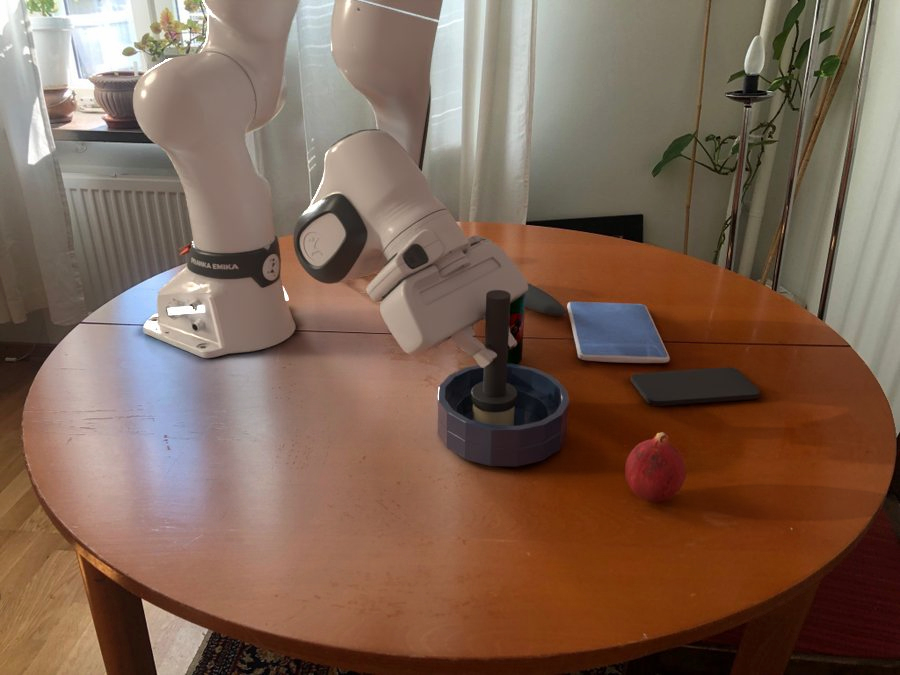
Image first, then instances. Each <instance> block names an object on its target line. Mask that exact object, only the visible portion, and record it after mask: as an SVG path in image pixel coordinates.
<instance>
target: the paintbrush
mask: <svg viewBox="0 0 900 675" xmlns="http://www.w3.org/2000/svg"><path fill="white" fill-rule="evenodd" d="M527 283H528V291H527V292H526V295H525V309H528V310H531V311H533V312H537V313H540V314H543V315H547V316H552V317H564V316H565V315H566V314H567V311H566V308H565V307H564V305H562V304H561V303H560V302H559V301H558V300H557V299H556V298H555V297H553V296H552V295H551V294H549V293H548V292H546V291H545V290H543V289H541V288H539V287H537V286H536V285H534V284H531V283H529V282H527Z"/></svg>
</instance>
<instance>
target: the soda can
mask: <svg viewBox="0 0 900 675" xmlns="http://www.w3.org/2000/svg"><path fill="white" fill-rule="evenodd" d="M525 295H526V293H524V294H523V295H522V296H521V297H519V298H518V299H516V300H515V301H514V302H512V303H510V318H509V328H510V333H511V334H512V336H513V337H514V339H515V340H516V342H517V345H516V346H515V347H514V348H512V349H511V350H509V351H508V358H507V364H517V365H520V363H521V362H522V361H523V350H524V349H523V348H524V331H525V330H524V329H525V315H526V314H525V312H526V311H525V310H526V307H525Z"/></svg>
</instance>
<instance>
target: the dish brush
mask: <svg viewBox="0 0 900 675" xmlns="http://www.w3.org/2000/svg"><path fill="white" fill-rule="evenodd" d="M510 299H511V295H510V293H509V292H507V291H503V290H492V291H489V292H487V294H486V317H485V322H484V345H485V347H486V346H487V345H489V344H490V345H491V347H492V348H493V351H494V352H496V354H497V359H496V360H494V361H493V362H491V363H490V364H488V365H487V366H485V367H484V375H483V382H480V383H478V384H476V385H475V386H474V387H473V388H472V393H471V401H472V403H473V420H474V421H478V422H482V423H486V424H490V425H504V426H513V425H514V410H515V405H516V403H517V391H516V389H515V388H514V387H513V386H512V385H510V384H508V383H506V378H507V358H508V338H509V318H510Z"/></svg>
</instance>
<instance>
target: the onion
mask: <svg viewBox="0 0 900 675" xmlns="http://www.w3.org/2000/svg"><path fill="white" fill-rule="evenodd" d="M668 440H669V436H668V434H666V433H665V432H664V431H662V432H657V433H656V435H655V436H654V437H653V438H650V439H647V440H643V441H641V442H640V443H638V444H637V445H636V446H635V447H634V448H633V449H632V450H631V451H630V452H629V454H628V456H627V457H626V462H625V469H624V474H625V479H626V482H627V483H628V486H629V488H630V490H631V491H632V492H633V493H634V494H635V495H636V496H637V497H639V498H640V499H642V500H644V501H647V502H650V503H659V502H662V501H663V502H664V501H667V500H668V499H670V498H672V497H674V496H675V495H677V493H679V492H681V489H682V487H683V485H684V482H685V480H686V475H687V470H686V462H685V459H684V457H683V455H682V453H681V452H680V451H679V450H678V449H677V447H676V446H674V444H673V443H672V442H669V441H668Z"/></svg>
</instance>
